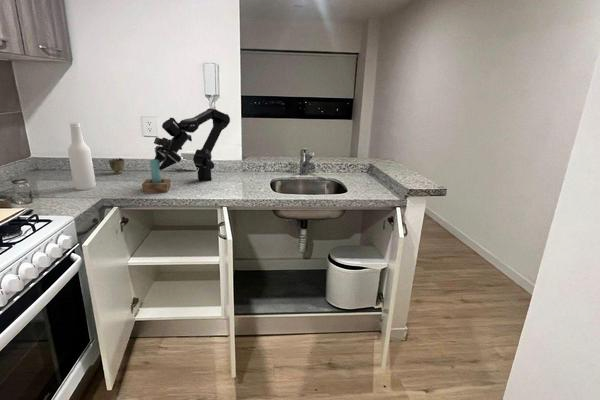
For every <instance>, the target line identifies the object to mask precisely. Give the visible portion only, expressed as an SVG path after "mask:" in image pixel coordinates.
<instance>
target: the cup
mask: <svg viewBox="0 0 600 400" xmlns="http://www.w3.org/2000/svg"><path fill="white" fill-rule="evenodd" d="M108 163H109V167H110V169H111V170H112V171H113V172H114V174H116V175H119V174H122V172H123V170H124V167H125V166H124V165H125V159H124V158H119V157H117V158H110V159H108Z"/></svg>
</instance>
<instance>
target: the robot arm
mask: <svg viewBox="0 0 600 400" xmlns="http://www.w3.org/2000/svg"><path fill="white" fill-rule="evenodd" d="M209 120H212V128H211V130H210V132H209V134H208V135H207V137H206V139H205V142H204V143H203V146H202V148H201V149H196V150H195V151H194V152H195V154H194V155H193V156H194V158H193V161H194V164H195V167H196V168H199V169H198V170H197V179H198V181H199V182H201V181H202V182H203V181H212V179H213V177H212V176H213V175H212V170H213V169H214V168H215V164H214V162H213V161H212V157H213V156H212V152H213V150H214V147H215V145H216V143H217V142H218V139H219V136H220V135H221V134H222V133H221V132H222V131H223V130H225V129H226V128H227V127H228V126H229V124H230V123H231V118H230V116H229V114H228V113H225V112H221V111H219V110H218V109H216V108H207V109H206V110H205V111H202V112H201V113H199V114H197V115H195V116H193V117H190V118H185V119H181V120H180V121H179V122H178V121H176V119H175V117H169V118H168V119H166V120H165V121H164V122H163V123H162V125H161V127H162V129H163V130H164V131H165V132H166V133H167V134H168V135H170V137H172V138H171V139H170V138H169V139H168V138H166V137H162V138H161V137H157V136H155V139H154V140H153V141H154V142H153V144H154V145H156V147H155V148H154V153H155V155H154V159H153V160H155V159H157V160H159V164H160V163H161V165H160V167H159V169H160V171H162V170H165V169H166V168H168V167H171V166H173V165H175V164H177V163H180V162H182V158H181V155H179V154H178V152H179V151H182V150H183V148H182V147H183V146H184V145H185V144H186V142H187V141H189V142H192V141H193V139H192V135H191V134H193V133H195V132H196V131H197V130H198V129H199V127H200V126H201V125H203V124H204V123H206V122H208V121H209ZM188 133H191V134H188Z"/></svg>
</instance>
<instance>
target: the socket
mask: <svg viewBox="0 0 600 400" xmlns="http://www.w3.org/2000/svg"><path fill="white" fill-rule="evenodd" d="M171 183H172V182H171V178H161V183H152V178H146V179H145V180H144V182H142V183H141V189H142V193H143V194H153V193H154V194H155V193H156V194H157V193H168V192H169V190H170V188H171V187H172V186H171V185H172V184H171Z"/></svg>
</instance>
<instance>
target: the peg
mask: <svg viewBox="0 0 600 400" xmlns="http://www.w3.org/2000/svg"><path fill="white" fill-rule="evenodd" d="M154 159H155V158H154ZM154 159H150V160H149V166H150V175H151V179H152V183H161V179H162V177H161V176H162V175H161V170H160V169H159V167H160V166H161V165H160V163H159V160H157V159H155V160H154Z"/></svg>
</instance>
